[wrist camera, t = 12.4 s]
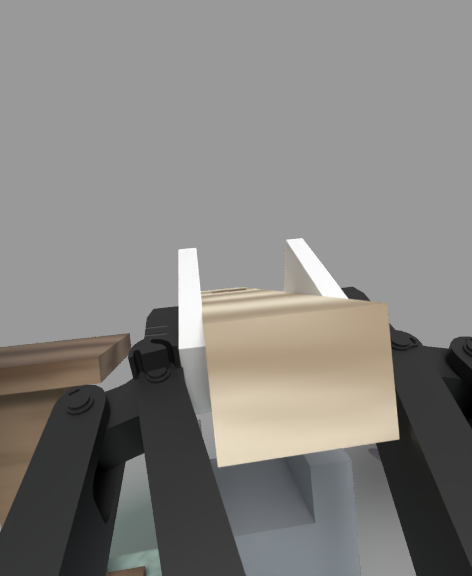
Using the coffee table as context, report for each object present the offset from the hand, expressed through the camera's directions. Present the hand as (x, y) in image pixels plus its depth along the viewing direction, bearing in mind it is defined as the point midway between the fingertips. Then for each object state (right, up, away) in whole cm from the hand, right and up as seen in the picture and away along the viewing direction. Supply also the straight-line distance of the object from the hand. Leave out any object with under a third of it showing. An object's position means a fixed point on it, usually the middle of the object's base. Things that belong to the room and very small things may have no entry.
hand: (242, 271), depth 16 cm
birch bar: (0, -4, +4) cm, 6 cm away
